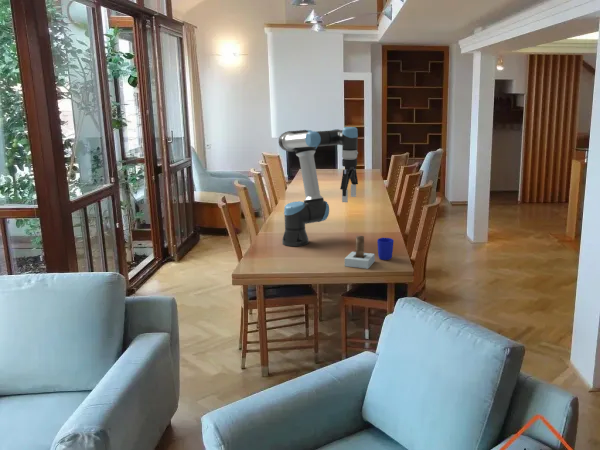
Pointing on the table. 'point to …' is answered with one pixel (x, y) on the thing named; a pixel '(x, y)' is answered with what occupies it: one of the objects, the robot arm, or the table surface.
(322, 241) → the table surface
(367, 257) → the socket
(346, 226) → the table surface
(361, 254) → the peg
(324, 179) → the table surface
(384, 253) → the mug
